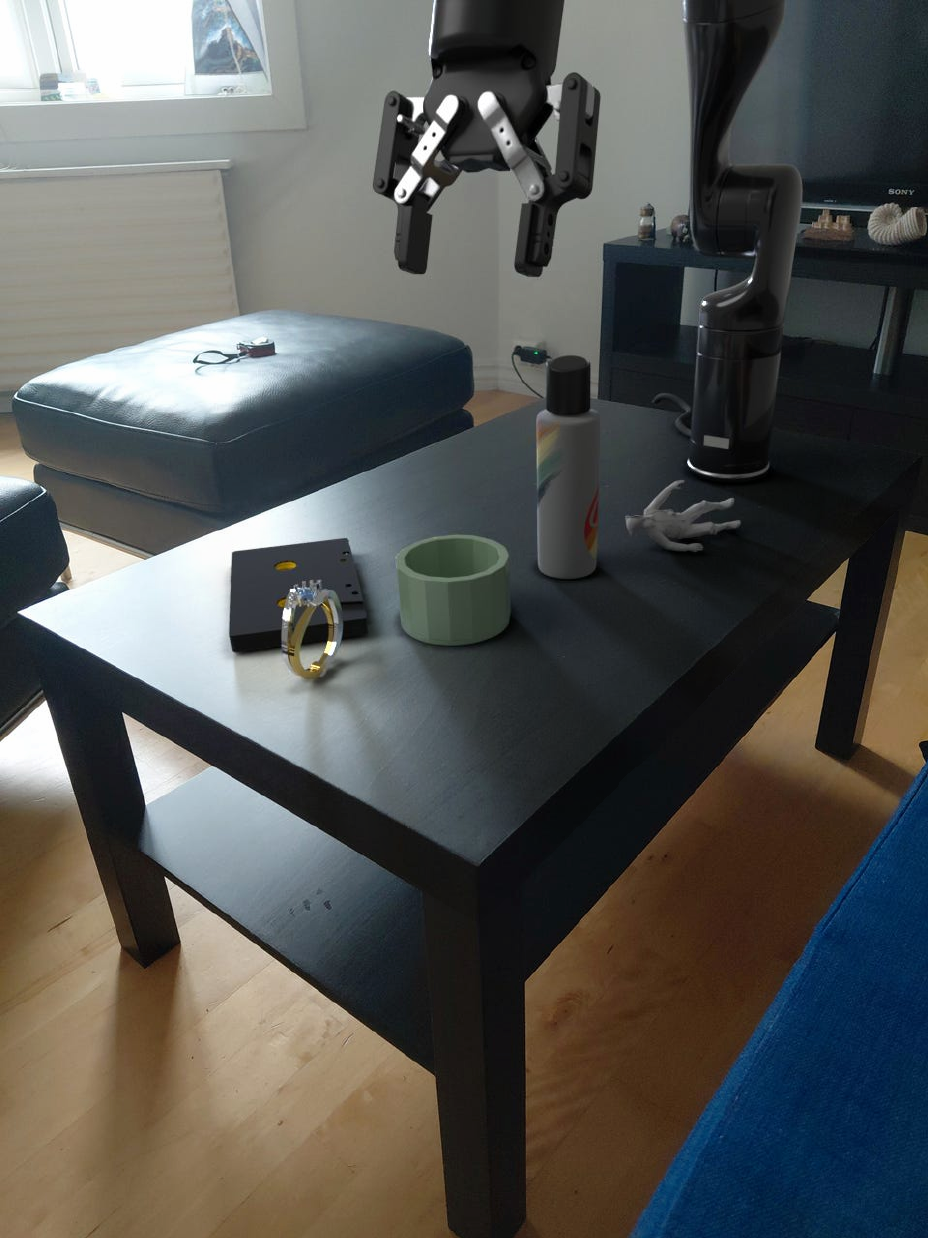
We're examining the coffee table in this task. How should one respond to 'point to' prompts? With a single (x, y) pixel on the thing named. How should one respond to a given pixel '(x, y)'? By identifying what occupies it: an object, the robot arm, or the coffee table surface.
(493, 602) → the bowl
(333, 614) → the ring
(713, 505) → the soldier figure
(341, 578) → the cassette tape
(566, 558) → the lotion bottle
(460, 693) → the coffee table surface
